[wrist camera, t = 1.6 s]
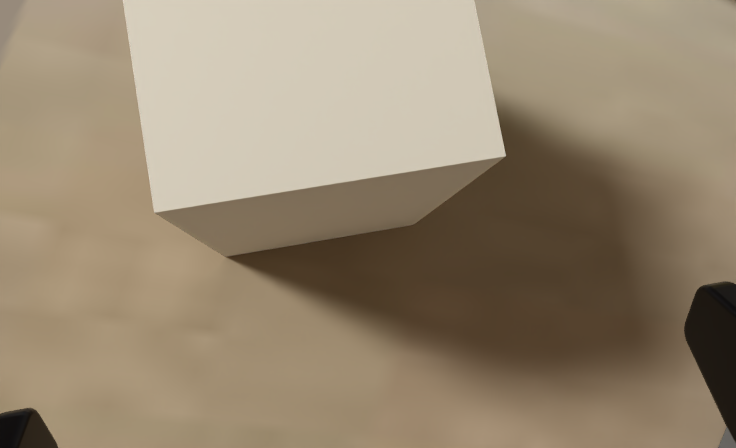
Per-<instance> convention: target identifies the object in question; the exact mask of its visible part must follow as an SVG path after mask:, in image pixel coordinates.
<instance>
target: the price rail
mask: <svg viewBox="0 0 736 448" xmlns="http://www.w3.org/2000/svg"><path fill="white" fill-rule="evenodd" d="M718 448H736V443H735V441H734V439H733V437H732V436H731V434H730V432H729V430H728V428H726V430H725V433H724V435H723V438H722V440H721V442H720V445H719V447H718Z"/></svg>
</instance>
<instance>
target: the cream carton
mask: <svg viewBox="0 0 736 448" xmlns="http://www.w3.org/2000/svg"><path fill="white" fill-rule="evenodd" d="M123 4H124V11H125V18H126V25H127V31H128V38H129V45H130V52H131V59H132V65H133V72H134V79H135V86H136V92H137V99H138V106H139V113H140V120H141V126H142V133H143V140H144V147H145V153H146V160H147V167H148V174H149V181H150V187H151V194H152V201H153V208H154V213H156V214H157V215H159V216H160V217H162V218H164V219H165V220H167V221H168V222H170V223H172V224H173V225H175V226H176V227H178V228H180V229H181V230H183V231H184V232H186V233H188V234H189V235H191V236H192V237H194V238H196V239H197V240H199V241H200V242H202V243H204V244H205V245H207V246H209V247H210V248H212V249H213V250H215V251H217V252H218V253H220V254H221V255H223V256H225V257H228V256H233V255H239V254H245V253H251V252H257V251H263V250H269V249H275V248H280V247H286V246H292V245H298V244H304V243H310V242H316V241H322V240H328V239H333V238H339V237H345V236H351V235H357V234H363V233H369V232H375V231H381V230H386V229H392V228H398V227H404V226H410V225H414V224H415V223H417V222H418V221H419V220H421V219H422V218H423V217H425V216H426V215H427V214H429V213H430V212H431V211H433V210H434V209H435V208H437V207H438V206H439V205H441V204H442V203H444V202H445V201H446V200H448V199H449V198H450V197H452V196H453V195H454V194H456V193H457V192H458V191H460V190H461V189H462V188H464V187H465V186H466V185H468V184H469V183H471V182H472V181H473V180H475V179H476V178H477V177H479V176H480V175H481V174H483V173H484V172H485V171H487V170H488V169H489V168H491V167H492V166H493V165H495V164H496V163H498V162H499V161H500V160H502V159H503V158H504V157H506V154H505V149H504V144H503V139H502V134H501V129H500V124H499V120H498V115H497V110H496V105H495V100H494V95H493V90H492V85H491V80H490V75H489V71H488V66H487V61H486V56H485V51H484V46H483V41H482V36H481V31H480V27H479V22H478V17H477V12H476V7H475V2H474V0H123Z"/></svg>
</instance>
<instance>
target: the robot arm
mask: <svg viewBox="0 0 736 448" xmlns="http://www.w3.org/2000/svg"><path fill="white" fill-rule="evenodd" d="M684 332H685V337H686V341H687V343H688V345H689V347H690V350H691V352H692V354H693V356H694V358H695V360H696V362H697V365H698V367H699V369H700V371H701V373H702V375H703V377H704V379H705V382H706V384H707V386H708V388H709V390H710V392H711V394H712V396H713V399H714V401H715V403H716V405H717V407H718V409H719V411H720V413H721V416H722V418H723V420H724V422H725V424H726V426H727V428H728V430H729V432H730V434H731V436H732V437H733V439H734V441H735V443H736V284H734V283H731V282H719V283H713V284H708V285H703V286H701V287H700V288H699V289H698V290H697V292H696V294H695V296H694V299H693V302H692V305H691V308H690V311H689V313H688V316H687V319H686V322H685V327H684ZM0 448H58V446H57V443H56V441H55V440H54V438H53V436H52V435H51V433H50V431H49V430H48V428H47V426H46V425H45V423H44V421H43V420H42V418H41V416H40V415H39V413H38V412H37V411H36V410H34V409H32V408H25V409H20V410H14V411H9V412H4V413H1V414H0Z"/></svg>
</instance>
